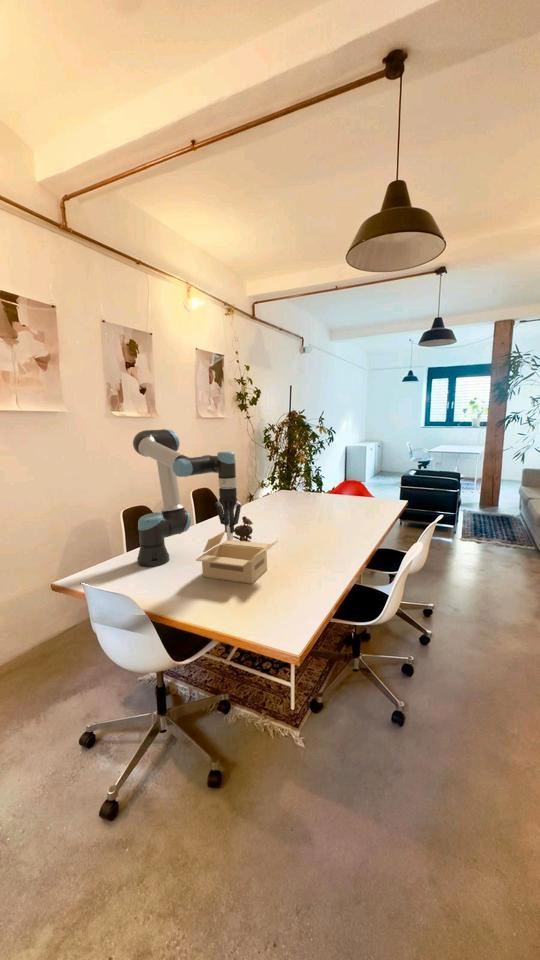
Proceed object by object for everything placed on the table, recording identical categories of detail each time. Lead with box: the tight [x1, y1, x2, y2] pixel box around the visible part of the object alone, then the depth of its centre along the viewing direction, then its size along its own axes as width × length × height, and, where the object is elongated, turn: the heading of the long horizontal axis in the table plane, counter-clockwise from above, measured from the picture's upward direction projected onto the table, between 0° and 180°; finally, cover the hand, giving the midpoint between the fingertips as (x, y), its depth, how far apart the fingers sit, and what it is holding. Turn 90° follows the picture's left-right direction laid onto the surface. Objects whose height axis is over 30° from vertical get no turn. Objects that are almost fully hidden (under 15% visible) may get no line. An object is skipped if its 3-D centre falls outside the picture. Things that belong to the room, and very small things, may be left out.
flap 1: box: [203, 529, 226, 553], centre depth 171 cm, size 1×14×7 cm, turn 160°
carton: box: [195, 539, 271, 585], centre depth 169 cm, size 24×28×10 cm
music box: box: [233, 515, 254, 542], centre depth 194 cm, size 15×11×20 cm
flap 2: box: [252, 540, 279, 559], centre depth 162 cm, size 1×14×7 cm
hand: (230, 539), depth 168 cm, fingers closed
